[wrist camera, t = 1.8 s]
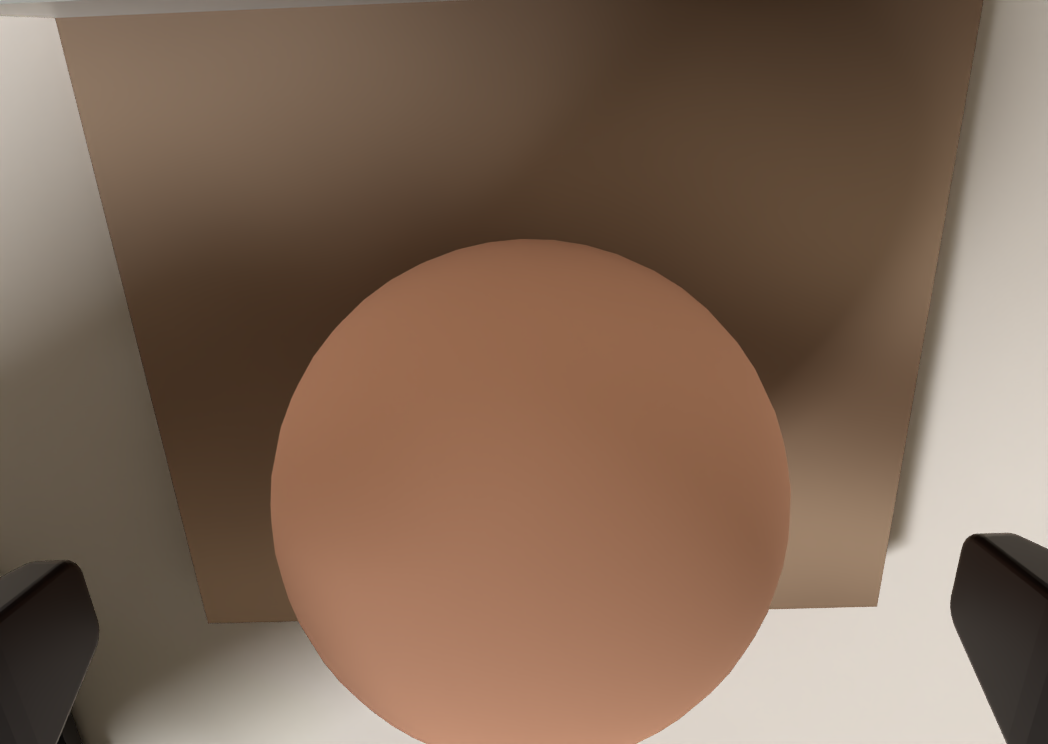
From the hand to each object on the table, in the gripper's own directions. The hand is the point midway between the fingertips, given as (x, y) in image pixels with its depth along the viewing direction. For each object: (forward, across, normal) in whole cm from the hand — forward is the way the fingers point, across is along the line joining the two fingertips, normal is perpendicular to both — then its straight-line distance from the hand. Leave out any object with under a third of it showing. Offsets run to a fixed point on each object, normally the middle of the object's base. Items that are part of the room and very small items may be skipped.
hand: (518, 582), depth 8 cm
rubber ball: (+2, 0, 0) cm, 2 cm away
